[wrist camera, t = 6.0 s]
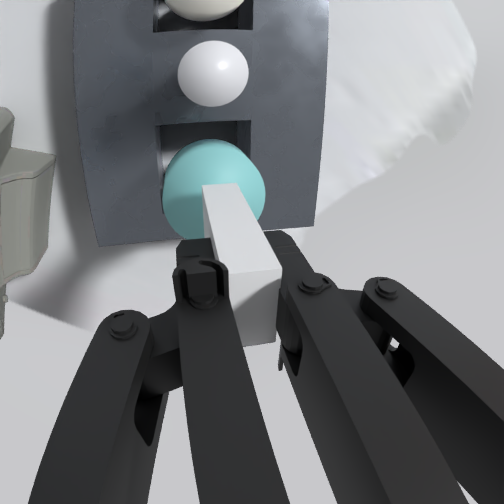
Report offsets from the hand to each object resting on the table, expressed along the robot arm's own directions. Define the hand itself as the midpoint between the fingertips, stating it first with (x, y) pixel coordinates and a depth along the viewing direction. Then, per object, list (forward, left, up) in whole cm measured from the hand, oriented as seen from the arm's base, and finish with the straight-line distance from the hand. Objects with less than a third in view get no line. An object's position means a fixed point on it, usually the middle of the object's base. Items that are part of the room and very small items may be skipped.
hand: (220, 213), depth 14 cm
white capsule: (0, +6, -7) cm, 9 cm away
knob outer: (0, 0, -9) cm, 9 cm away
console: (0, +6, -12) cm, 14 cm away
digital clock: (-17, -2, -13) cm, 21 cm away
